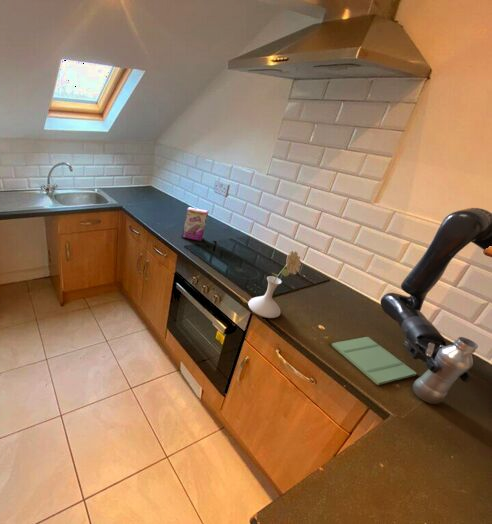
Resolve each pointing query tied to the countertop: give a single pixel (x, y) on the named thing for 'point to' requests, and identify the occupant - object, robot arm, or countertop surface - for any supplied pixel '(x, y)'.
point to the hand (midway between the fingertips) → (451, 375)
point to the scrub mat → (373, 360)
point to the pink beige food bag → (195, 223)
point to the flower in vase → (265, 303)
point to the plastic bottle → (445, 370)
